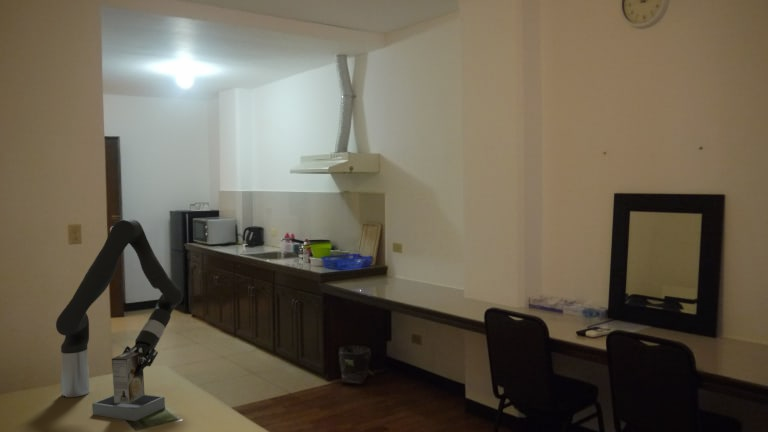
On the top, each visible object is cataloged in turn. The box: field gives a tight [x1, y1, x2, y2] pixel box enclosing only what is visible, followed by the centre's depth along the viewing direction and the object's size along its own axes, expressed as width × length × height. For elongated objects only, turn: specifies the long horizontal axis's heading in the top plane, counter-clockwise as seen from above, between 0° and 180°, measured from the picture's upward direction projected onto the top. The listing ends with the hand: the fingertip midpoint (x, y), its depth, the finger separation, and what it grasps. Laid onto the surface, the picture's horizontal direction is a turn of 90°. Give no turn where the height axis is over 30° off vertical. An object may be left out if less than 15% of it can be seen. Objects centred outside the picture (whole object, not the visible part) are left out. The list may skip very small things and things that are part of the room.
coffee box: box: [111, 352, 146, 404], centre depth 218 cm, size 9×6×16 cm
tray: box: [91, 393, 166, 422], centre depth 218 cm, size 20×14×4 cm
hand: (128, 374), depth 218 cm, fingers closed on coffee box, 7 cm apart
